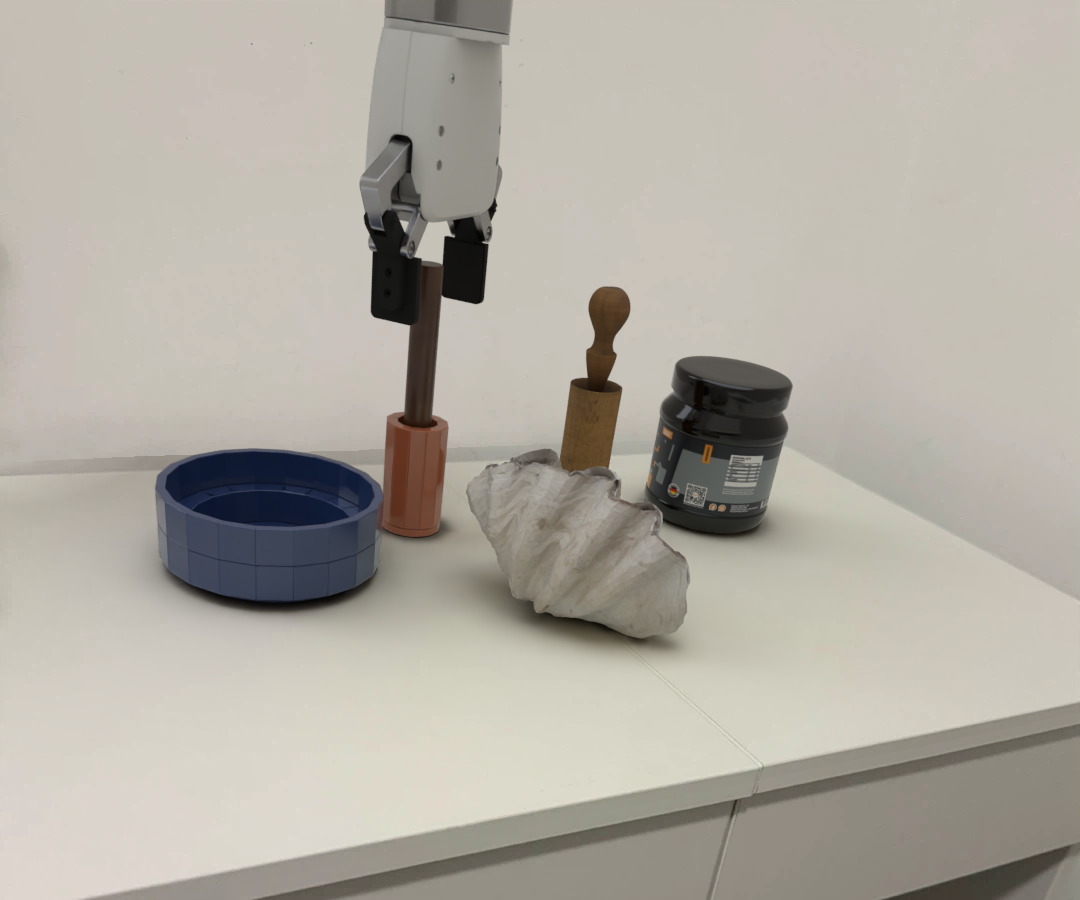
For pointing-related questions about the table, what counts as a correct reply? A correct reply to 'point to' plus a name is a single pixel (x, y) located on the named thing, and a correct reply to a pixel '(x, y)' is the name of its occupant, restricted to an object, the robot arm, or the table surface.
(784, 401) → the supplement container
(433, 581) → the table surface
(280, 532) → the bowl
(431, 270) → the stick
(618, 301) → the mortar and pestle
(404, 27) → the robot arm
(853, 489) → the table surface
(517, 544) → the seashell
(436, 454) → the holder
